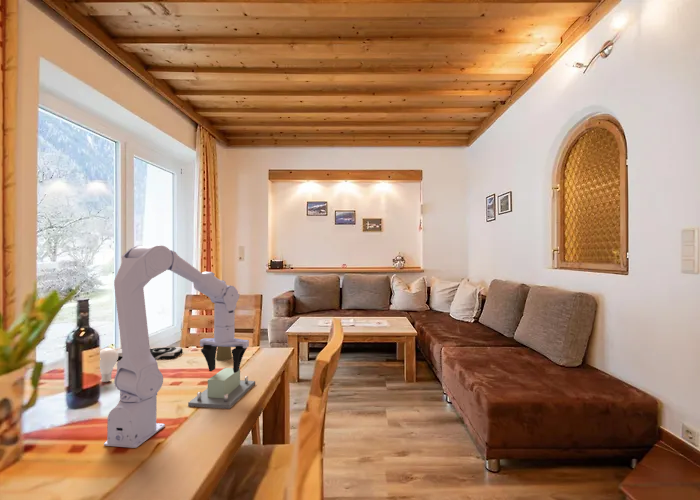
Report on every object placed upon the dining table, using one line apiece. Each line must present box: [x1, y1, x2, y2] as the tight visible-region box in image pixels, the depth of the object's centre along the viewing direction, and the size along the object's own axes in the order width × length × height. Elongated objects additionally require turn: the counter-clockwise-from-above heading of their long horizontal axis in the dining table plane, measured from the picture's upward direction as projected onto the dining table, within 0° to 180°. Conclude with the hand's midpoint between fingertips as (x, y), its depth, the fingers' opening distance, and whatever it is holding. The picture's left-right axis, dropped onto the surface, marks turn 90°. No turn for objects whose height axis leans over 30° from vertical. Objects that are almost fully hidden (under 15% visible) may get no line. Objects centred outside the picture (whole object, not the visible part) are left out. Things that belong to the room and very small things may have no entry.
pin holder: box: [187, 375, 256, 410], centre depth 99 cm, size 17×12×3 cm
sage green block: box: [207, 367, 241, 398], centre depth 99 cm, size 10×5×5 cm, turn 173°
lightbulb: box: [99, 347, 119, 383], centre depth 108 cm, size 6×6×11 cm
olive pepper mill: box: [215, 346, 233, 362], centre depth 133 cm, size 6×6×11 cm
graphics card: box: [116, 346, 183, 361], centre depth 135 cm, size 10×3×25 cm
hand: (224, 370), depth 99 cm, fingers open, 7 cm apart
